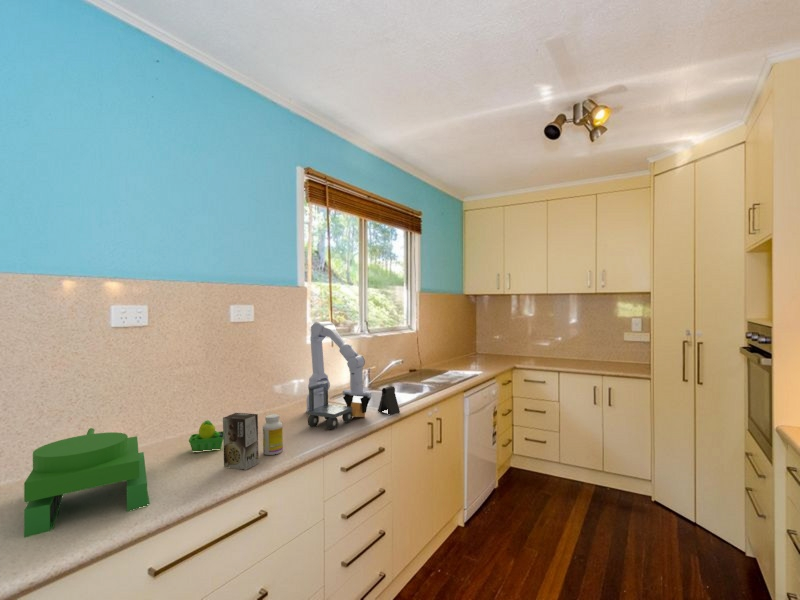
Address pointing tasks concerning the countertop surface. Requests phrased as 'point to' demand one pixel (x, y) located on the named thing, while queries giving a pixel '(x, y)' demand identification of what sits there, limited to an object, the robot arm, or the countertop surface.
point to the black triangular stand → (389, 401)
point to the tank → (81, 474)
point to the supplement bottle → (272, 435)
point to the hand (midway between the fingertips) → (357, 411)
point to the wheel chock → (357, 409)
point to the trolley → (325, 404)
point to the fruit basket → (206, 438)
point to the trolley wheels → (329, 420)
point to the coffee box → (240, 440)
